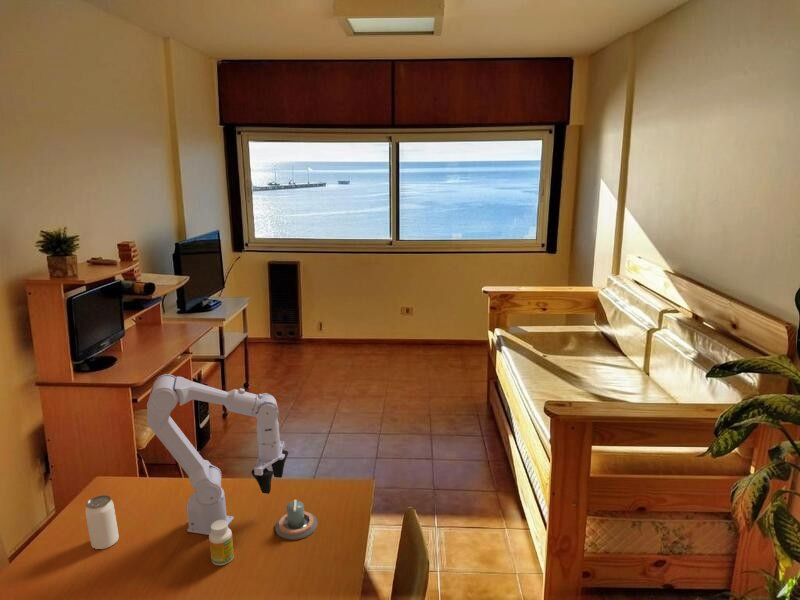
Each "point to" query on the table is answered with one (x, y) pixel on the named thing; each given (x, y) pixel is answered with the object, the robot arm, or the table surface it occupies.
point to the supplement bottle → (221, 543)
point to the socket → (299, 533)
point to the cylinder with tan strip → (295, 514)
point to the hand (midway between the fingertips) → (272, 484)
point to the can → (101, 522)
